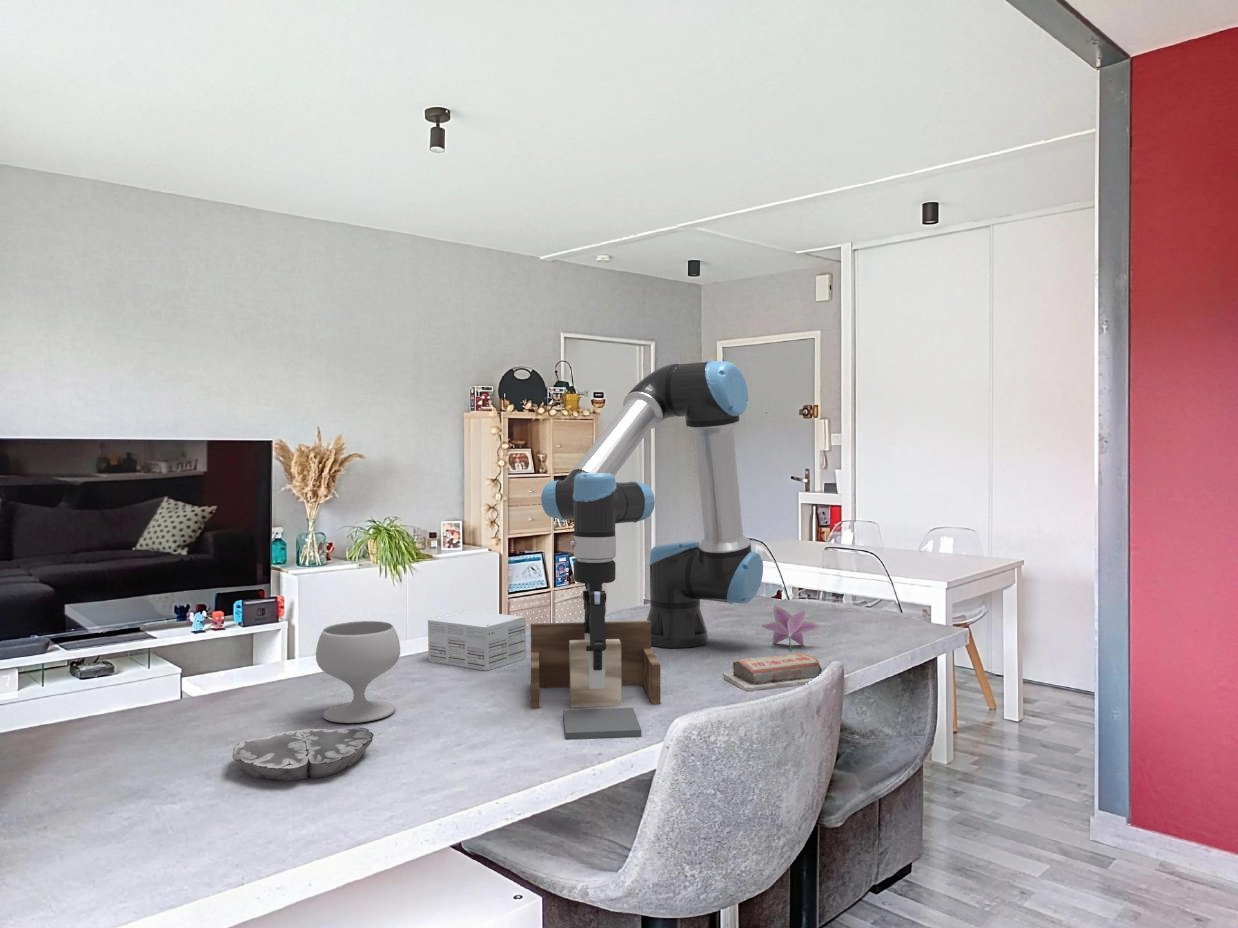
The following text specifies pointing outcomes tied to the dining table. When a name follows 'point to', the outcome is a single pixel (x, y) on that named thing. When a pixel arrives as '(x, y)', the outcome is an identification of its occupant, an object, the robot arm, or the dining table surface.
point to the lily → (789, 626)
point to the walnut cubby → (555, 639)
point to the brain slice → (302, 753)
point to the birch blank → (580, 675)
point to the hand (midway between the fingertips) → (594, 677)
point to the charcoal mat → (601, 723)
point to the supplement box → (477, 639)
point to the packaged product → (773, 672)
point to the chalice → (358, 665)
